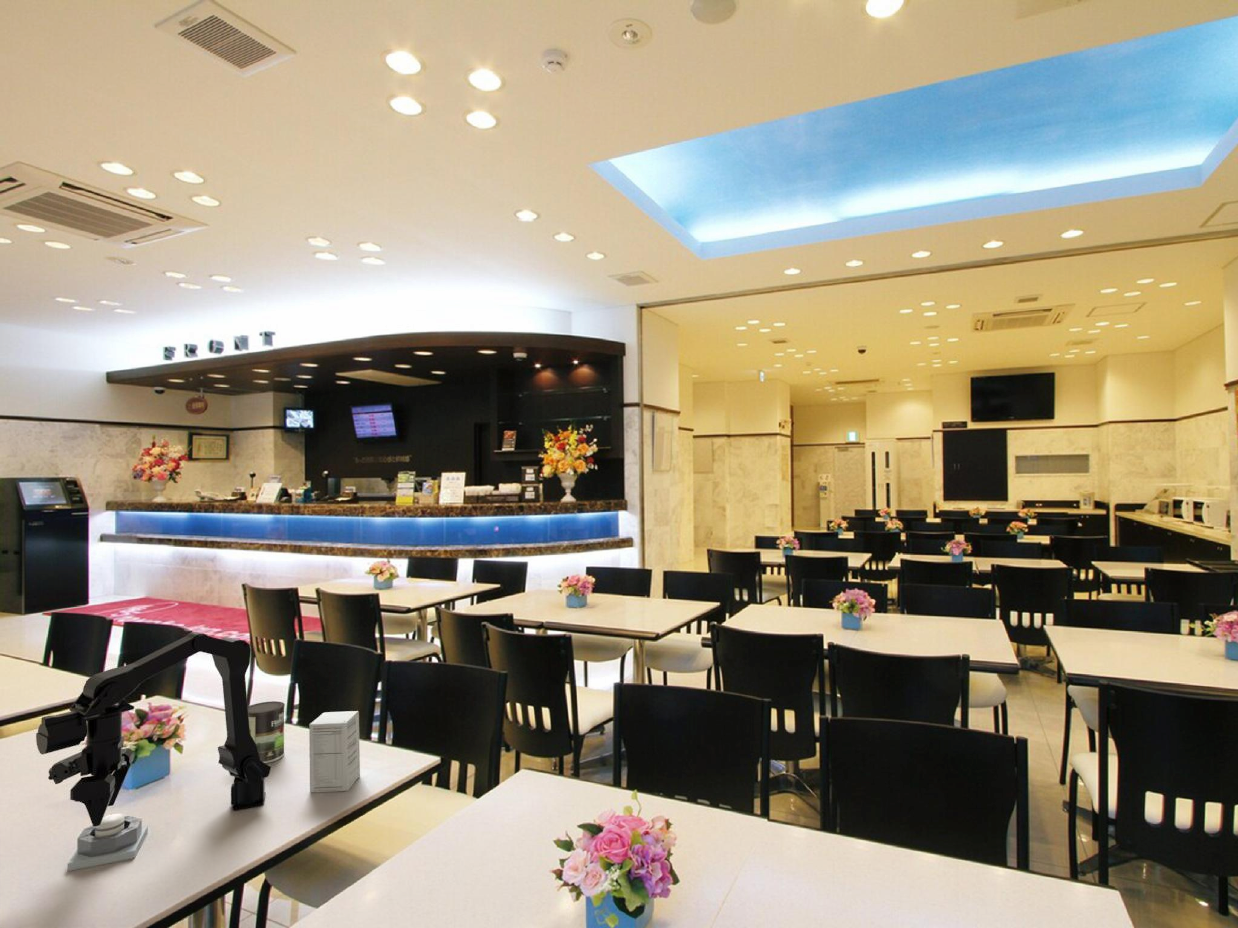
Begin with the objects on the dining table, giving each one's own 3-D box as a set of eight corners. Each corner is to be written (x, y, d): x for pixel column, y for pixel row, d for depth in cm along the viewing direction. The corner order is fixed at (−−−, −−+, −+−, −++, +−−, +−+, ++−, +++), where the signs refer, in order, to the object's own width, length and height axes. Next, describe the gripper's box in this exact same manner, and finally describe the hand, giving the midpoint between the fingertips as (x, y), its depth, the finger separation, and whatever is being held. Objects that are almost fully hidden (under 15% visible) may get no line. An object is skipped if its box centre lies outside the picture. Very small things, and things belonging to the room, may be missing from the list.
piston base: (147, 832, 147) (147, 802, 148) (134, 857, 137) (134, 825, 138) (85, 844, 143) (85, 813, 143) (67, 870, 133) (67, 837, 133)
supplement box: (361, 775, 175) (360, 710, 176) (347, 791, 166) (347, 722, 167) (323, 776, 175) (323, 711, 175) (308, 792, 166) (308, 723, 166)
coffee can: (291, 750, 193) (291, 700, 194) (272, 765, 183) (272, 712, 183) (255, 750, 193) (255, 700, 194) (234, 765, 183) (234, 713, 183)
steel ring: (144, 826, 147) (144, 812, 147) (133, 848, 138) (133, 833, 138) (88, 836, 143) (88, 822, 143) (72, 860, 134) (72, 845, 134)
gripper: (71, 728, 142) (70, 803, 142) (36, 761, 125) (35, 846, 125) (134, 720, 147) (134, 793, 146) (109, 750, 130) (108, 833, 129)
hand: (103, 815), depth 137 cm, fingers open, 9 cm apart
